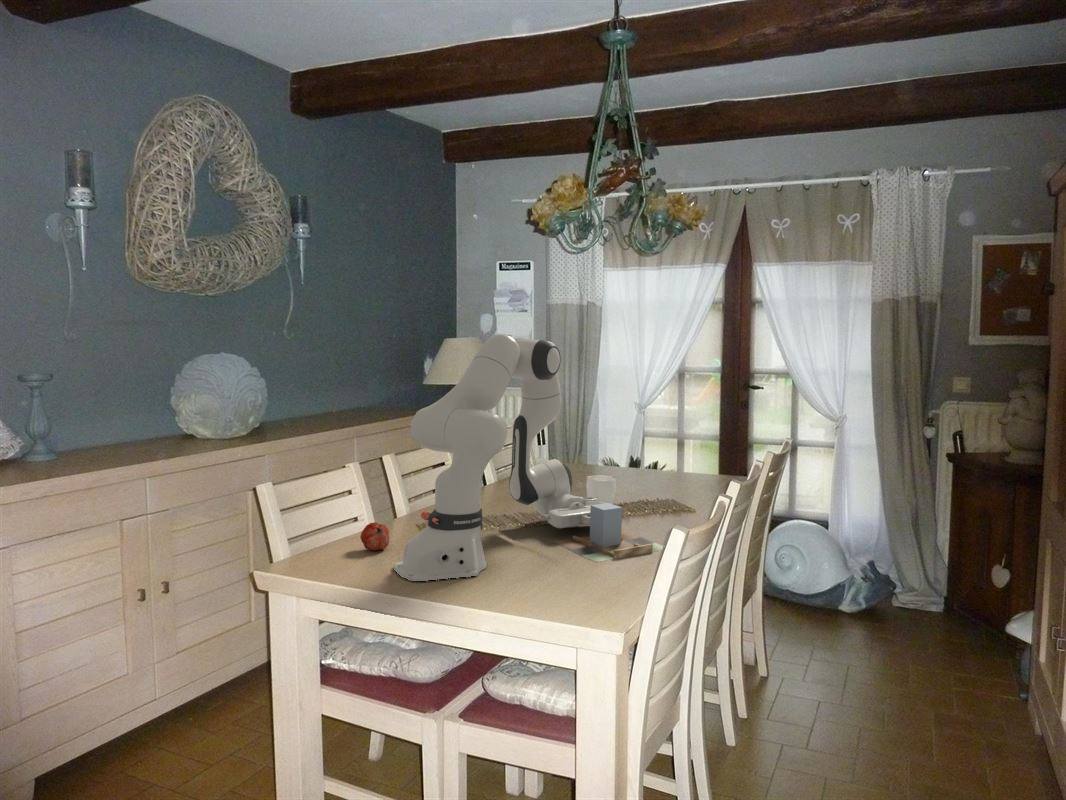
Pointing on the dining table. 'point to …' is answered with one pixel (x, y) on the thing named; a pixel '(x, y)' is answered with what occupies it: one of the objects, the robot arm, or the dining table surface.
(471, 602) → the dining table surface
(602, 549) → the tray with wooden handles
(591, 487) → the cup
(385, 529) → the pomegranate
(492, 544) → the dining table surface
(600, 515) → the block
